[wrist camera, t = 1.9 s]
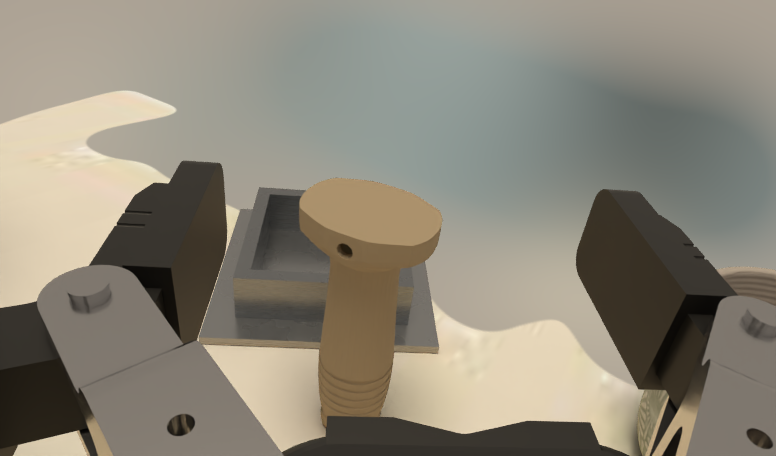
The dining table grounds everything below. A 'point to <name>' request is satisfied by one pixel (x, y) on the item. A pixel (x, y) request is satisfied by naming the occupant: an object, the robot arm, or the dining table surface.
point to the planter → (744, 282)
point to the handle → (363, 283)
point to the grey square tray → (294, 285)
